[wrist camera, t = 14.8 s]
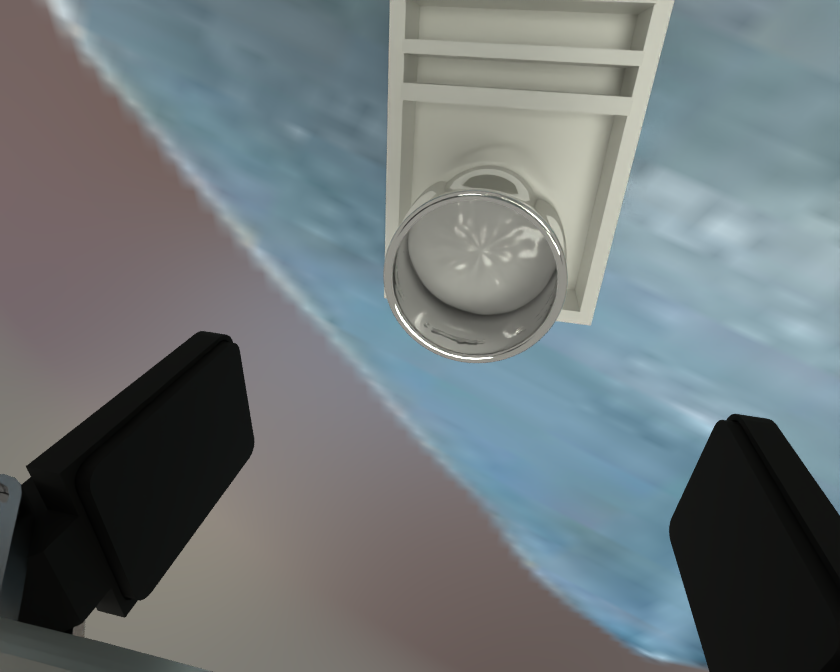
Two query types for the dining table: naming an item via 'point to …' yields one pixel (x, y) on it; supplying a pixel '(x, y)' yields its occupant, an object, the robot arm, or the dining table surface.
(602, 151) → the rack
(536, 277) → the beer glass
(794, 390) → the dining table surface
